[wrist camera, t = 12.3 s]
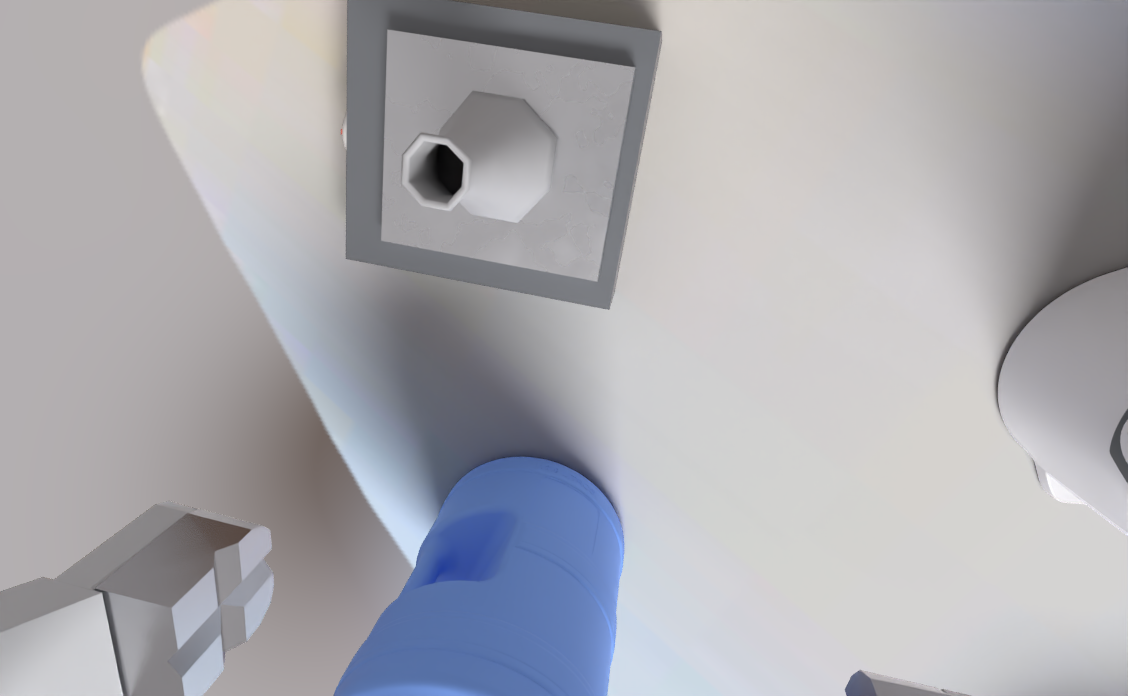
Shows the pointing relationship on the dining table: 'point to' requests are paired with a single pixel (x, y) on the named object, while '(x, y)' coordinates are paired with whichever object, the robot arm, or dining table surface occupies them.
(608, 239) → the base
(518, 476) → the water jug
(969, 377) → the dining table surface
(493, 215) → the flask
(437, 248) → the pan
